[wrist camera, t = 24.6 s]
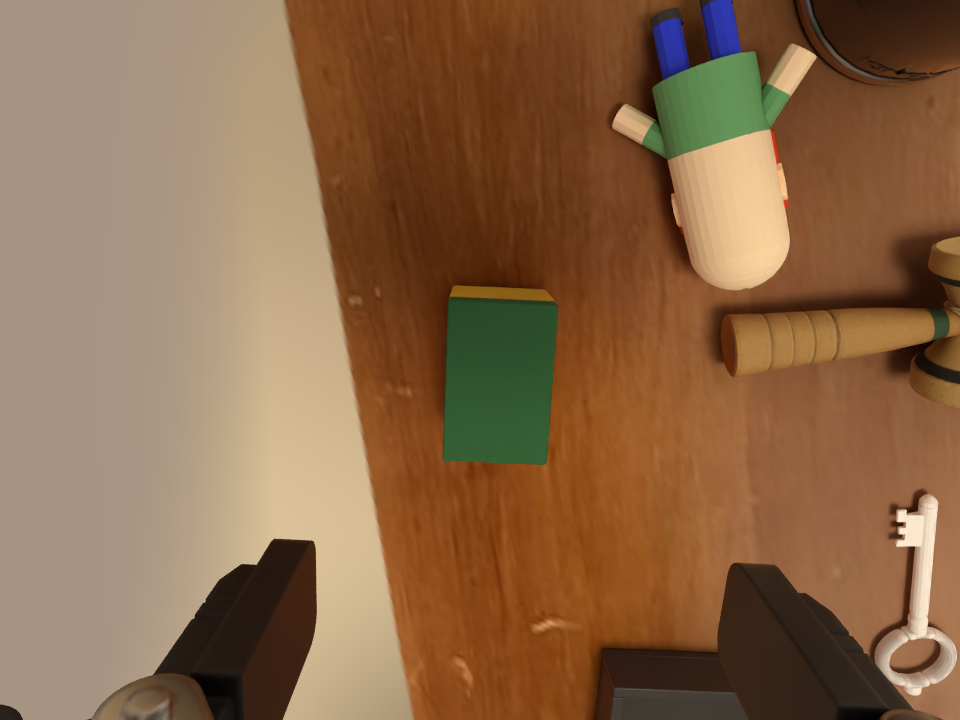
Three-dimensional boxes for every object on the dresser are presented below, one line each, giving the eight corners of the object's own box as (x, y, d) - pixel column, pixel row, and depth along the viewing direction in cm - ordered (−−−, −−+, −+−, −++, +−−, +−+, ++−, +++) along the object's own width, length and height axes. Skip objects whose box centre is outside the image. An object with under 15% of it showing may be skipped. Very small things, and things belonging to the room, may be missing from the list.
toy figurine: (607, 52, 30) (663, 297, 32) (579, 36, 26) (644, 316, 28) (799, -27, 26) (849, 258, 28) (799, -60, 22) (857, 275, 24)
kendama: (719, 418, 33) (1112, 381, 30) (751, 444, 27) (1250, 400, 24) (704, 272, 33) (1101, 219, 30) (732, 264, 27) (1238, 195, 23)
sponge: (452, 284, 30) (447, 300, 25) (546, 289, 30) (558, 305, 25) (448, 422, 32) (442, 461, 27) (536, 426, 32) (546, 465, 27)
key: (868, 688, 36) (944, 684, 35) (878, 701, 35) (956, 696, 35) (882, 494, 33) (965, 488, 33) (893, 502, 32) (978, 496, 32)
